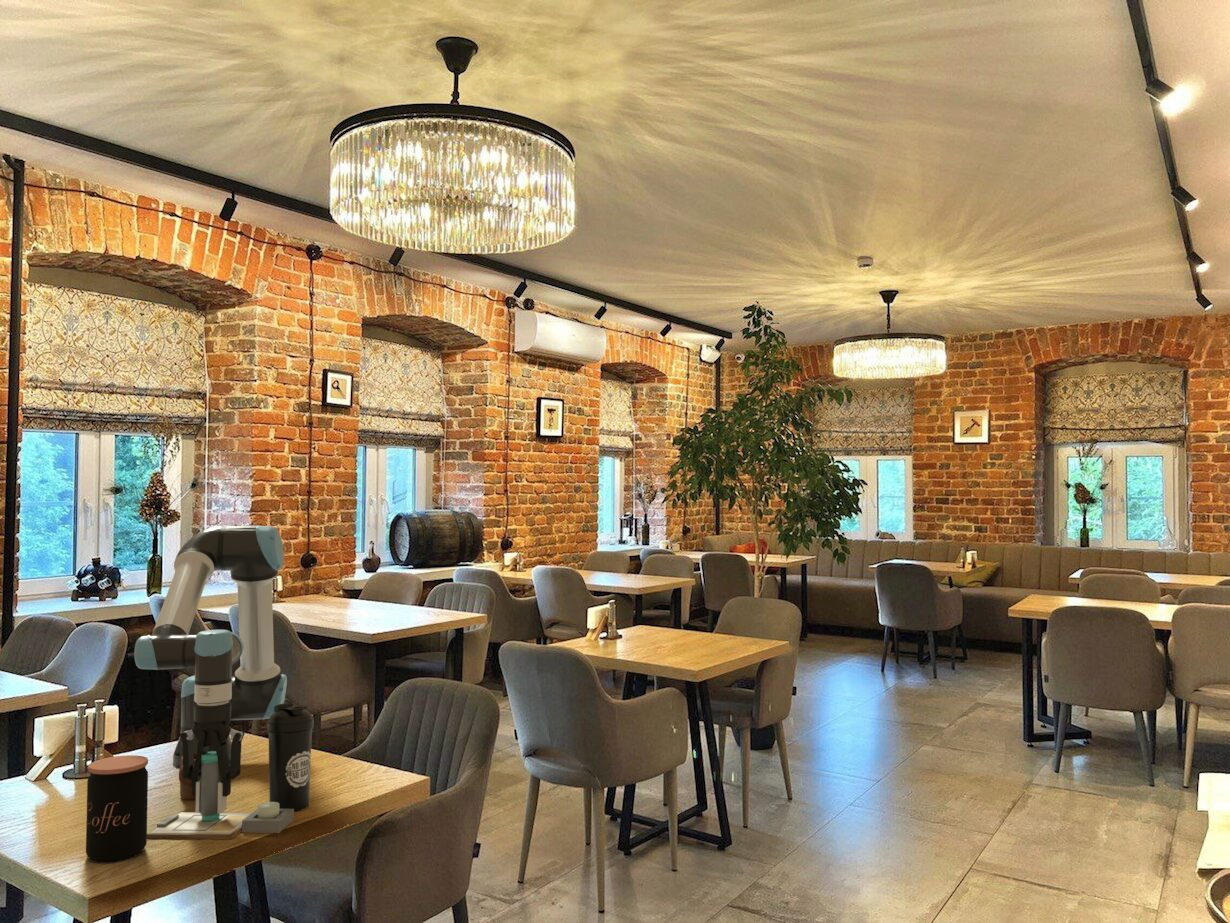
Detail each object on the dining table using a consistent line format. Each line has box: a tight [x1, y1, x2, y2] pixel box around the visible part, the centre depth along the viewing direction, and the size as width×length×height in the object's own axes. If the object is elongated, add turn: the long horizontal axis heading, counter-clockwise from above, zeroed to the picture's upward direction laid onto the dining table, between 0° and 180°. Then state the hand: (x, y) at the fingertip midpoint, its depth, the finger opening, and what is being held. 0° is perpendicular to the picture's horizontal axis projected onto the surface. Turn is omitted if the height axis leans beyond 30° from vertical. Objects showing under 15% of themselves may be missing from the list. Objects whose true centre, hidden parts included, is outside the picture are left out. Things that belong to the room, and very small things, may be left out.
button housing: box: [241, 808, 295, 834], centre depth 204 cm, size 8×8×2 cm
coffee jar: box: [85, 754, 149, 864], centre depth 188 cm, size 11×11×18 cm
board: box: [147, 811, 252, 840], centre depth 203 cm, size 14×18×2 cm
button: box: [257, 801, 279, 819], centre depth 204 cm, size 4×4×3 cm
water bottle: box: [266, 702, 315, 813], centre depth 217 cm, size 10×10×23 cm
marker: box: [200, 751, 222, 822], centre depth 206 cm, size 4×4×14 cm
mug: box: [178, 752, 197, 801], centre depth 223 cm, size 12×8×9 cm, turn 178°
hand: (211, 810), depth 206 cm, fingers closed on marker, 4 cm apart
